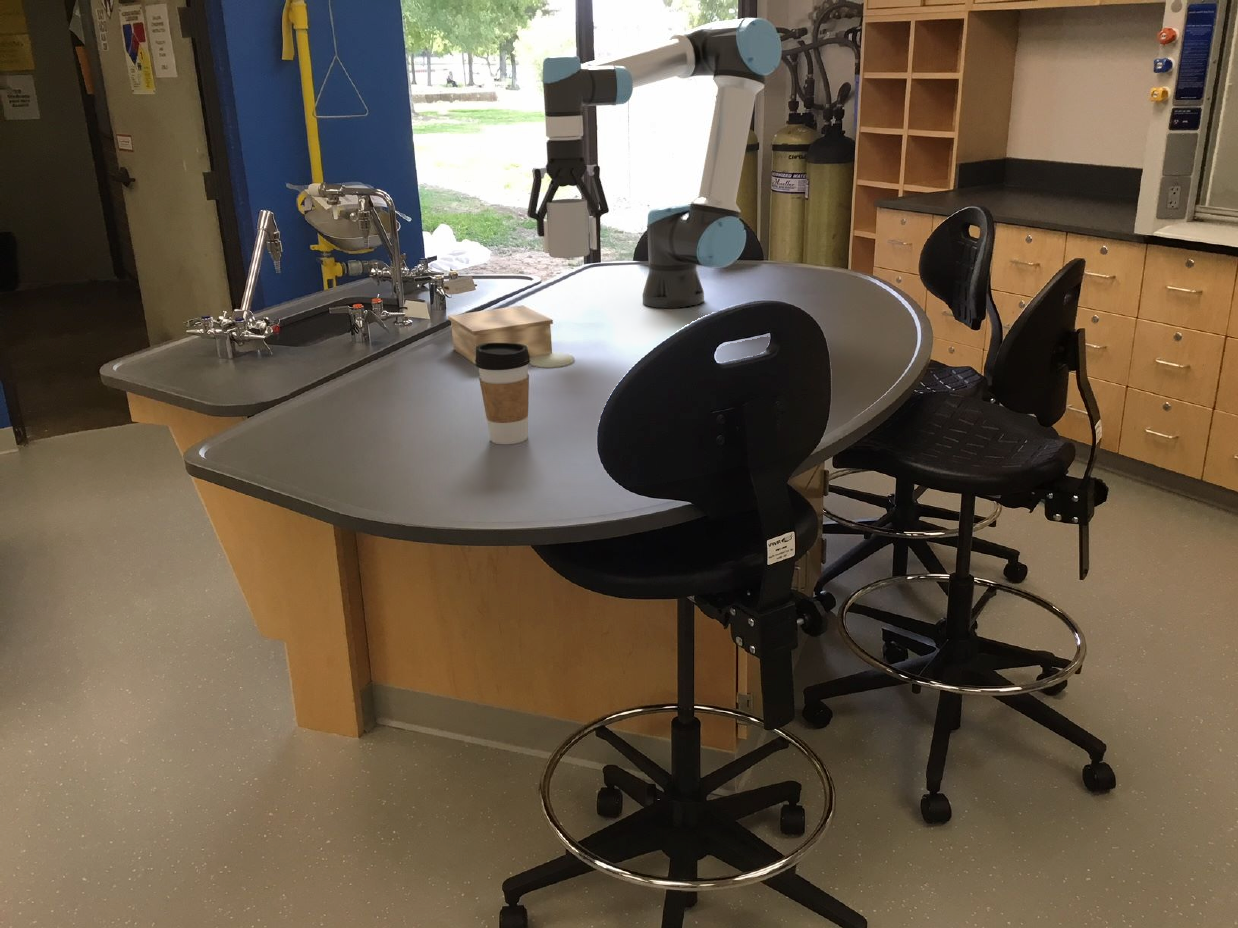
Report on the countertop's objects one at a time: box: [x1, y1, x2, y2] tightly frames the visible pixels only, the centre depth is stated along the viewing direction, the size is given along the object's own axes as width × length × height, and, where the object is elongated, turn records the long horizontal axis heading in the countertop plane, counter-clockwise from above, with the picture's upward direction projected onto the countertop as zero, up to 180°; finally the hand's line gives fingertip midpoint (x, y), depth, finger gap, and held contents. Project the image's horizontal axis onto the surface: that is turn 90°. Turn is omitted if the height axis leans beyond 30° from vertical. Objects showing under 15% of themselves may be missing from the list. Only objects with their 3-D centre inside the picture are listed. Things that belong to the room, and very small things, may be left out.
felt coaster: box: [529, 352, 575, 369], centre depth 202 cm, size 9×9×1 cm
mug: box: [546, 198, 591, 259], centre depth 210 cm, size 12×8×11 cm
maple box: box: [447, 305, 554, 365], centre depth 210 cm, size 17×17×7 cm
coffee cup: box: [475, 343, 531, 446], centre depth 157 cm, size 8×8×15 cm
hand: (570, 250), depth 212 cm, fingers closed on mug, 9 cm apart
